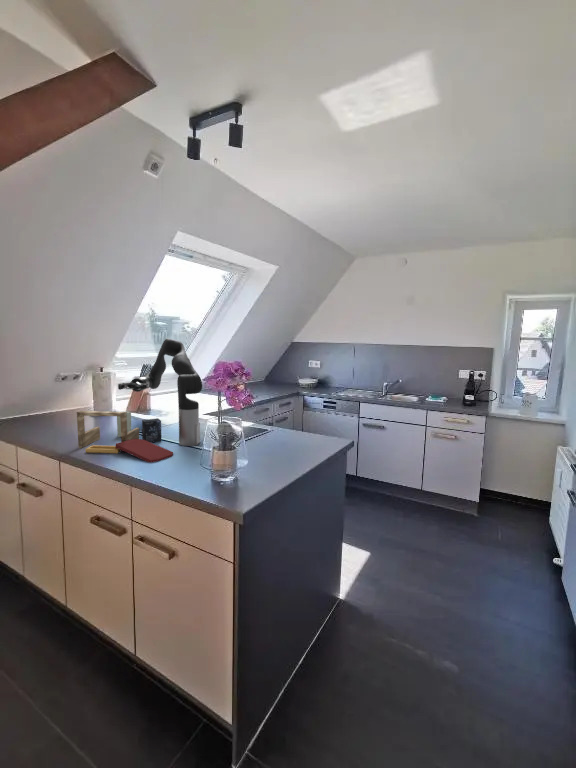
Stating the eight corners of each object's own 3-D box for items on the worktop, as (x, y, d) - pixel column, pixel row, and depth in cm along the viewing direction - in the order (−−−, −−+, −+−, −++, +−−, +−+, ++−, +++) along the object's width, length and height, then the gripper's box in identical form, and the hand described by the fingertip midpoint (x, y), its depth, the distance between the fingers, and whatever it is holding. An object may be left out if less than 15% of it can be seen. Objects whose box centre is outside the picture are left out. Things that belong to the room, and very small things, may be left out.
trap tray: (123, 449, 166) (123, 446, 165) (117, 453, 160) (117, 449, 160) (92, 449, 166) (92, 445, 166) (85, 453, 160) (85, 448, 160)
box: (144, 443, 176) (144, 421, 175) (142, 440, 181) (141, 419, 180) (161, 441, 181) (161, 420, 179) (158, 438, 185) (158, 418, 184)
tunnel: (139, 439, 183) (138, 406, 181) (124, 449, 167) (123, 413, 165) (97, 438, 183) (95, 405, 181) (78, 448, 167) (76, 412, 165)
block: (131, 434, 192) (130, 411, 191) (127, 436, 187) (126, 413, 186) (122, 434, 192) (121, 411, 191) (117, 436, 187) (116, 413, 186)
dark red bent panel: (174, 463, 161) (134, 446, 172) (175, 453, 160) (135, 436, 171) (151, 472, 150) (111, 453, 162) (152, 460, 149) (111, 442, 161)
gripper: (127, 377, 208) (113, 380, 192) (152, 377, 208) (140, 380, 191) (127, 390, 209) (114, 394, 193) (152, 390, 209) (141, 395, 192)
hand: (127, 387), depth 192 cm, fingers open, 8 cm apart
